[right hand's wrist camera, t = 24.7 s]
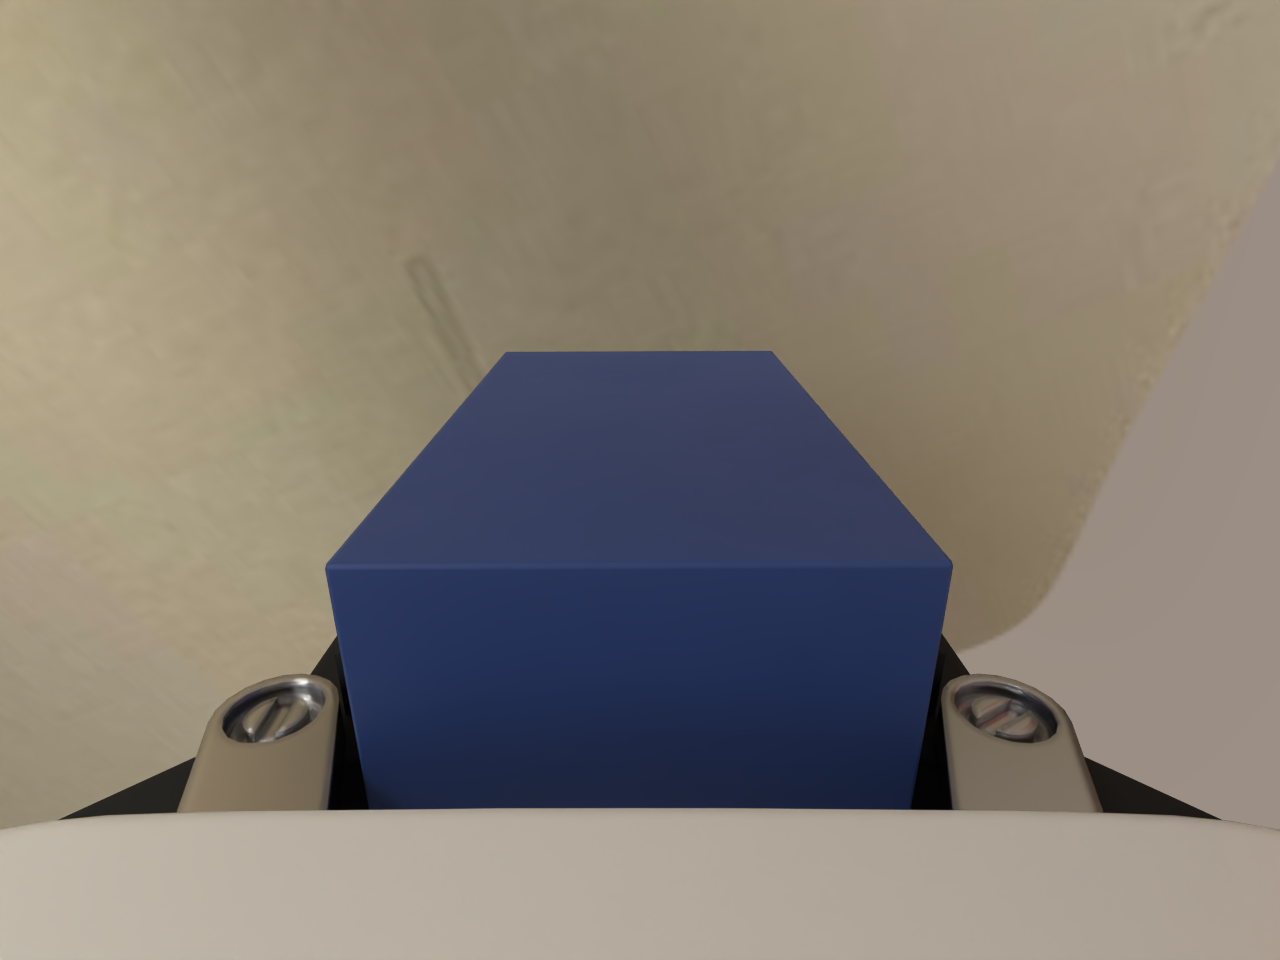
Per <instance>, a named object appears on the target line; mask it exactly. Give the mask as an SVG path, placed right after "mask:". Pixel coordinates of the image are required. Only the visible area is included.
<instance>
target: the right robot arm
mask: <svg viewBox="0 0 1280 960" xmlns="http://www.w3.org/2000/svg"><path fill="white" fill-rule="evenodd" d="M0 960H1280V830H1278V829H1272V828H1267V827H1261V826H1256V825H1250V824H1244V823H1239V822H1233V821H1225V820H1221V819H1219V818H1217V817H1214V816H1212V815H1210V814H1208V813H1206V812H1204V811H1201V810H1199V809H1197V808H1195V807H1193V806H1191V805H1188V804H1186V803H1184V802H1182V801H1180V800H1177V799H1175V798H1173V797H1171V796H1169V795H1167V794H1164V793H1162V792H1160V791H1158V790H1156V789H1153V788H1151V787H1149V786H1147V785H1145V784H1143V783H1140V782H1138V781H1136V780H1134V779H1132V778H1129V777H1127V776H1125V775H1123V774H1121V773H1119V772H1116V771H1114V770H1112V769H1110V768H1108V767H1105V766H1103V765H1101V764H1099V763H1097V762H1094V761H1092V760H1090V759H1088V758H1086V757H1084V756H1083V753H1082V750H1081V747H1080V744H1079V741H1078V738H1077V736H1076V733H1075V730H1074V727H1073V724H1072V722H1071V720H1070V719H1069V717H1068V715H1067V714H1066V712H1065V710H1064V709H1063V708H1062V707H1060V706H1059V705H1058V704H1057V703H1056V702H1055V701H1054V700H1053V699H1052V698H1050V697H1049V696H1047V695H1046V694H1044V693H1042V692H1041V691H1039V690H1037V689H1036V688H1034V687H1031V686H1029V685H1027V684H1024V683H1022V682H1019V681H1017V680H1013V679H1009V678H1005V677H1001V676H997V675H987V674H972V675H970V674H969V672H968V671H967V669H966V668H965V666H964V665H963V664H962V662H961V661H960V659H959V658H958V656H957V655H956V653H955V652H954V651H953V649H952V648H951V646H950V645H949V643H948V642H947V640H946V639H945V637H944V636H943V635H942V633H941V638H940V644H939V650H938V656H937V661H936V667H935V673H934V679H933V684H932V690H931V696H930V702H929V707H928V713H927V719H926V725H925V730H924V736H923V742H922V748H921V753H920V759H919V765H918V771H917V777H916V782H915V788H914V794H913V800H912V805H911V810H866V809H756V808H493V809H406V810H369V806H368V801H367V795H366V790H365V784H364V779H363V773H362V768H361V762H360V757H359V751H358V746H357V740H356V735H355V729H354V724H353V719H352V713H351V708H350V702H349V697H348V691H347V686H346V680H345V675H344V669H343V664H342V658H341V653H340V647H339V642H338V636H337V637H336V638H335V639H334V641H333V642H332V644H331V645H330V647H329V648H328V650H327V651H326V653H325V654H324V655H323V657H322V658H321V660H320V661H319V663H318V664H317V666H316V667H315V668H314V670H313V671H312V673H311V674H310V675H308V674H293V675H283V676H279V677H275V678H271V679H267V680H263V681H261V682H258V683H256V684H253V685H251V686H249V687H246V688H244V689H243V690H241V691H239V692H238V693H236V694H234V695H233V696H231V697H230V698H228V699H227V700H226V701H225V702H224V703H223V704H222V705H221V706H219V707H218V708H217V709H216V710H215V712H214V714H213V715H212V717H211V719H210V720H209V722H208V724H207V727H206V730H205V733H204V736H203V738H202V741H201V744H200V747H199V750H198V753H197V756H196V757H194V758H192V759H190V760H188V761H186V762H184V763H181V764H179V765H177V766H175V767H173V768H170V769H168V770H166V771H164V772H162V773H160V774H157V775H155V776H153V777H151V778H149V779H146V780H144V781H142V782H140V783H138V784H136V785H133V786H131V787H129V788H127V789H125V790H122V791H120V792H118V793H116V794H114V795H112V796H109V797H107V798H105V799H103V800H101V801H98V802H96V803H94V804H92V805H90V806H88V807H85V808H83V809H81V810H79V811H77V812H75V813H72V814H70V815H68V816H66V817H64V818H61V819H59V820H55V821H47V822H41V823H36V824H30V825H24V826H19V827H13V828H8V829H2V830H0Z"/></svg>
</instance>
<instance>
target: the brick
mask: <svg viewBox="0 0 1280 960" xmlns="http://www.w3.org/2000/svg"><path fill="white" fill-rule="evenodd" d="M952 569H953V564H952V561H951V560H950V559H949V558H948V557H947V555H946V554H945V553H944V552H943V551H942V550H941V548H940V547H939V546H938V545H937V544H936V543H935V541H934V540H933V539H932V538H931V537H930V536H929V534H928V533H927V532H926V531H925V530H924V529H923V527H922V526H921V525H920V524H919V523H918V522H917V520H916V519H915V518H914V517H913V516H912V515H911V513H910V512H909V511H908V510H907V509H906V508H905V506H904V505H903V504H902V503H901V502H900V501H899V499H898V498H897V497H896V496H895V495H894V494H893V492H892V491H891V490H890V489H889V488H888V487H887V485H886V484H885V483H884V482H883V481H882V480H881V478H880V477H879V476H878V475H877V474H876V473H875V471H874V470H873V469H872V468H871V467H870V465H869V464H868V463H867V462H866V461H865V460H864V458H863V457H862V456H861V455H860V454H859V453H858V451H857V450H856V449H855V448H854V447H853V446H852V444H851V443H850V442H849V441H848V440H847V439H846V437H845V436H844V435H843V434H842V433H841V432H840V430H839V429H838V428H837V427H836V426H835V425H834V423H833V422H832V421H831V420H830V419H829V418H828V416H827V415H826V414H825V413H824V412H823V411H822V409H821V408H820V407H819V406H818V405H817V404H816V402H815V401H814V400H813V399H812V398H811V397H810V395H809V394H808V393H807V392H806V391H805V390H804V388H803V387H802V386H801V385H800V384H799V383H798V381H797V380H796V379H795V378H794V377H793V376H792V374H791V373H790V372H789V371H788V370H787V369H786V367H785V366H784V365H783V364H782V363H781V362H780V360H779V359H778V358H777V357H776V356H775V355H774V353H773V352H771V351H643V352H506V353H505V354H504V355H503V356H502V357H501V359H500V360H499V361H498V362H497V363H496V364H495V366H494V367H493V368H492V369H491V370H490V372H489V373H488V374H487V375H486V376H485V377H484V379H483V380H482V381H481V382H480V383H479V385H478V386H477V387H476V388H475V389H474V390H473V392H472V393H471V394H470V395H469V396H468V397H467V399H466V400H465V401H464V402H463V403H462V405H461V406H460V407H459V408H458V409H457V410H456V412H455V413H454V414H453V415H452V416H451V418H450V419H449V420H448V421H447V422H446V423H445V425H444V426H443V427H442V428H441V429H440V431H439V432H438V433H437V434H436V435H435V436H434V438H433V439H432V440H431V441H430V442H429V443H428V445H427V446H426V447H425V448H424V449H423V451H422V452H421V453H420V454H419V455H418V456H417V458H416V459H415V460H414V461H413V462H412V464H411V465H410V466H409V467H408V468H407V469H406V471H405V472H404V473H403V474H402V475H401V477H400V478H399V479H398V480H397V481H396V482H395V484H394V485H393V486H392V487H391V488H390V489H389V491H388V492H387V493H386V494H385V495H384V497H383V498H382V499H381V500H380V501H379V502H378V504H377V505H376V506H375V507H374V508H373V510H372V511H371V512H370V513H369V514H368V515H367V517H366V518H365V519H364V520H363V521H362V523H361V524H360V525H359V526H358V527H357V528H356V530H355V531H354V532H353V533H352V534H351V535H350V537H349V538H348V539H347V540H346V541H345V543H344V544H343V545H342V546H341V547H340V548H339V550H338V551H337V552H336V553H335V554H334V556H333V557H332V558H331V559H330V560H329V561H328V563H327V564H326V567H325V571H326V576H327V582H328V587H329V592H330V598H331V603H332V609H333V614H334V620H335V625H336V631H337V636H338V642H339V647H340V653H341V658H342V664H343V669H344V675H345V680H346V686H347V691H348V697H349V702H350V708H351V713H352V719H353V724H354V729H355V735H356V740H357V746H358V751H359V757H360V762H361V768H362V773H363V779H364V784H365V790H366V795H367V801H368V806H369V810H406V809H493V808H756V809H866V810H911V805H912V800H913V794H914V788H915V782H916V777H917V771H918V765H919V759H920V753H921V748H922V742H923V736H924V730H925V725H926V719H927V713H928V707H929V702H930V696H931V690H932V684H933V679H934V673H935V667H936V661H937V656H938V650H939V644H940V638H941V633H942V627H943V621H944V615H945V610H946V604H947V598H948V592H949V587H950V581H951V575H952Z"/></svg>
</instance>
